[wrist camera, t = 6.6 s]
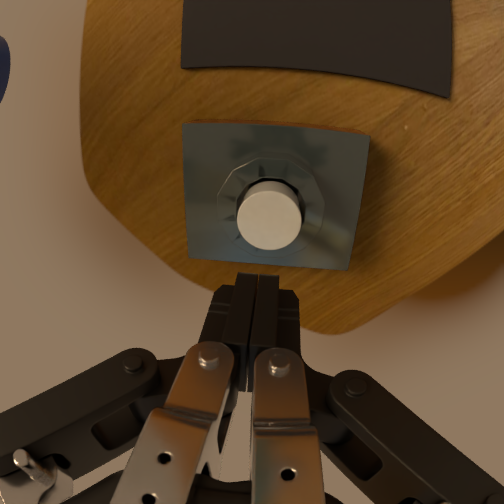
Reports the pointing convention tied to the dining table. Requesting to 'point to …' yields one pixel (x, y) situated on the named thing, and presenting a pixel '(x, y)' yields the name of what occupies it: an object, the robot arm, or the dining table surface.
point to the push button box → (273, 169)
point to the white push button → (269, 215)
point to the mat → (325, 38)
